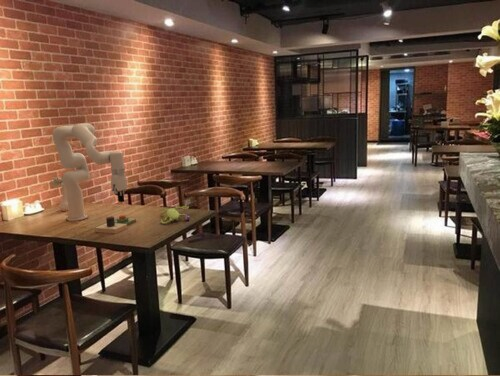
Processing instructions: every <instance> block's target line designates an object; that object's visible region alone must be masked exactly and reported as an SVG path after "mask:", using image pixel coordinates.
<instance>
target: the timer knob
mask: <svg viewBox="0 0 500 376" xmlns="http://www.w3.org/2000/svg"><path fill="white" fill-rule="evenodd" d="M105 220H106V221H105V222H106V223H107V227H113V226H115V221H114V220H115V216H113V215H111V216H107V217H106V218H105Z"/></svg>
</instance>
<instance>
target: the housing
mask: <svg viewBox="0 0 500 376" xmlns="http://www.w3.org/2000/svg"><path fill="white" fill-rule="evenodd" d="M125 217H126V218H124V219H119V217H117V218H116V219H114V221H115V223H117V224H127V227H128V226H130V225H132V224H134V223H136V222H137V219H136V218H129V217H128V216H125Z"/></svg>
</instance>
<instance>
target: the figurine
mask: <svg viewBox="0 0 500 376" xmlns="http://www.w3.org/2000/svg"><path fill="white" fill-rule="evenodd" d="M189 208H190V206H187V205H183V206H176V207H173V208H163V210H162V211H161V213H160V216H161V217H162V216H163V215H164V214H165V213H166V216H165V217H164V221H163V218H161V219H160V223H161V224H162V225H167V224H169V223H171V222H174V221H179V218H180V217H183V219H184V220H185V221H189V220H190V218H191V216H190V215H189V214H185V213H179V211H178V210H181V209H182V210H185V211H187V210H189Z"/></svg>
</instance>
